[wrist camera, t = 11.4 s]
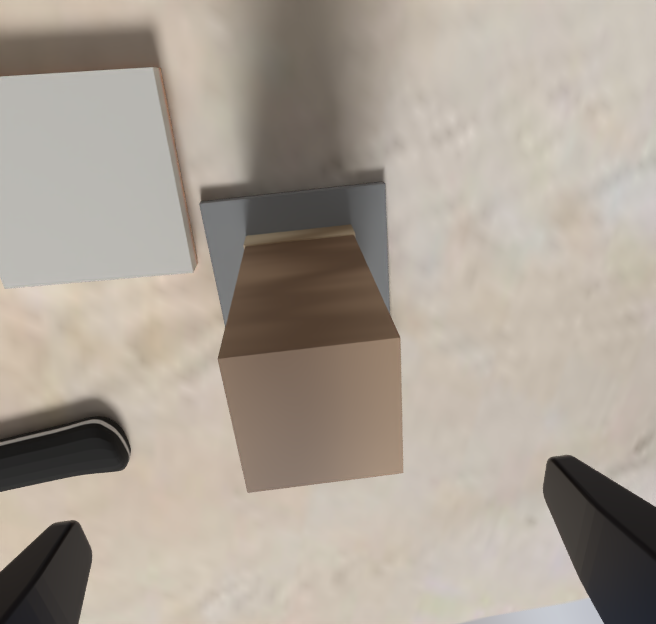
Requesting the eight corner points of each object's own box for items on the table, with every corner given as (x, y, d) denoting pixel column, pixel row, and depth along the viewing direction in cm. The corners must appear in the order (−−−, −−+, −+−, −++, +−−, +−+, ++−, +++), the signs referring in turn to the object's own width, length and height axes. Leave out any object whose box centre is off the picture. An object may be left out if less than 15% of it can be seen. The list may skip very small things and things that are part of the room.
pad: (383, 181, 18) (385, 183, 18) (389, 339, 21) (390, 343, 21) (200, 201, 18) (199, 204, 18) (233, 358, 21) (233, 362, 21)
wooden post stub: (351, 224, 18) (402, 335, 10) (357, 317, 20) (404, 474, 12) (245, 235, 18) (214, 356, 10) (261, 328, 20) (246, 494, 12)
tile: (199, 258, 20) (163, 68, 16) (193, 272, 18) (152, 67, 15) (25, 273, 19) (-45, 81, 16) (4, 288, 18) (-77, 81, 15)
